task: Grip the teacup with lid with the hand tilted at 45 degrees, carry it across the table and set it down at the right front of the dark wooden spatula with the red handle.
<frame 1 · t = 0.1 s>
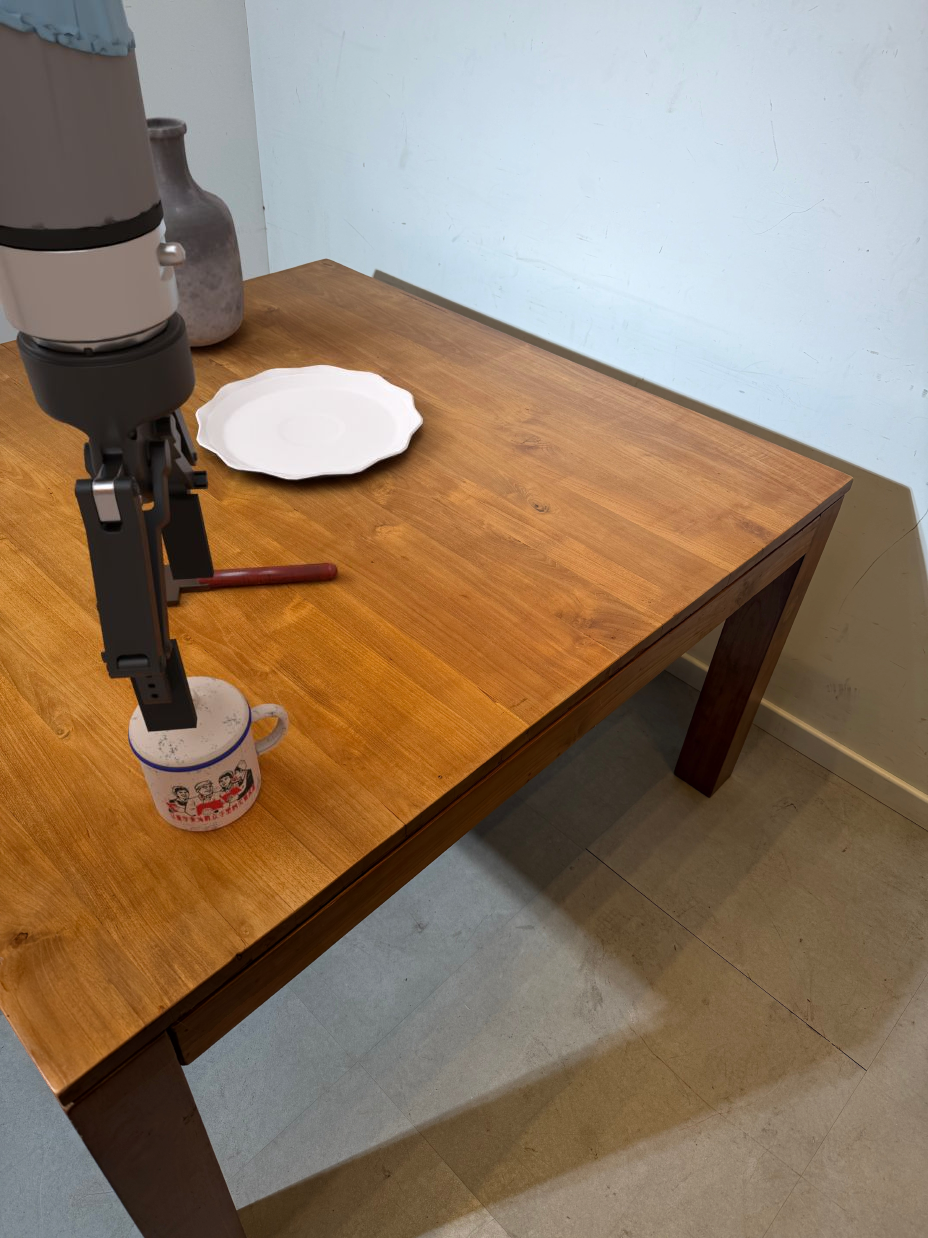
hand: (184, 643, 53), 20 cm above the table, tool pointing down, fingers open, 13 cm apart
spatula: (220, 584, 89), on the table
plate: (311, 432, 112), on the table
teacup with lid: (226, 783, 70), on the table
vase: (199, 339, 132), on the table
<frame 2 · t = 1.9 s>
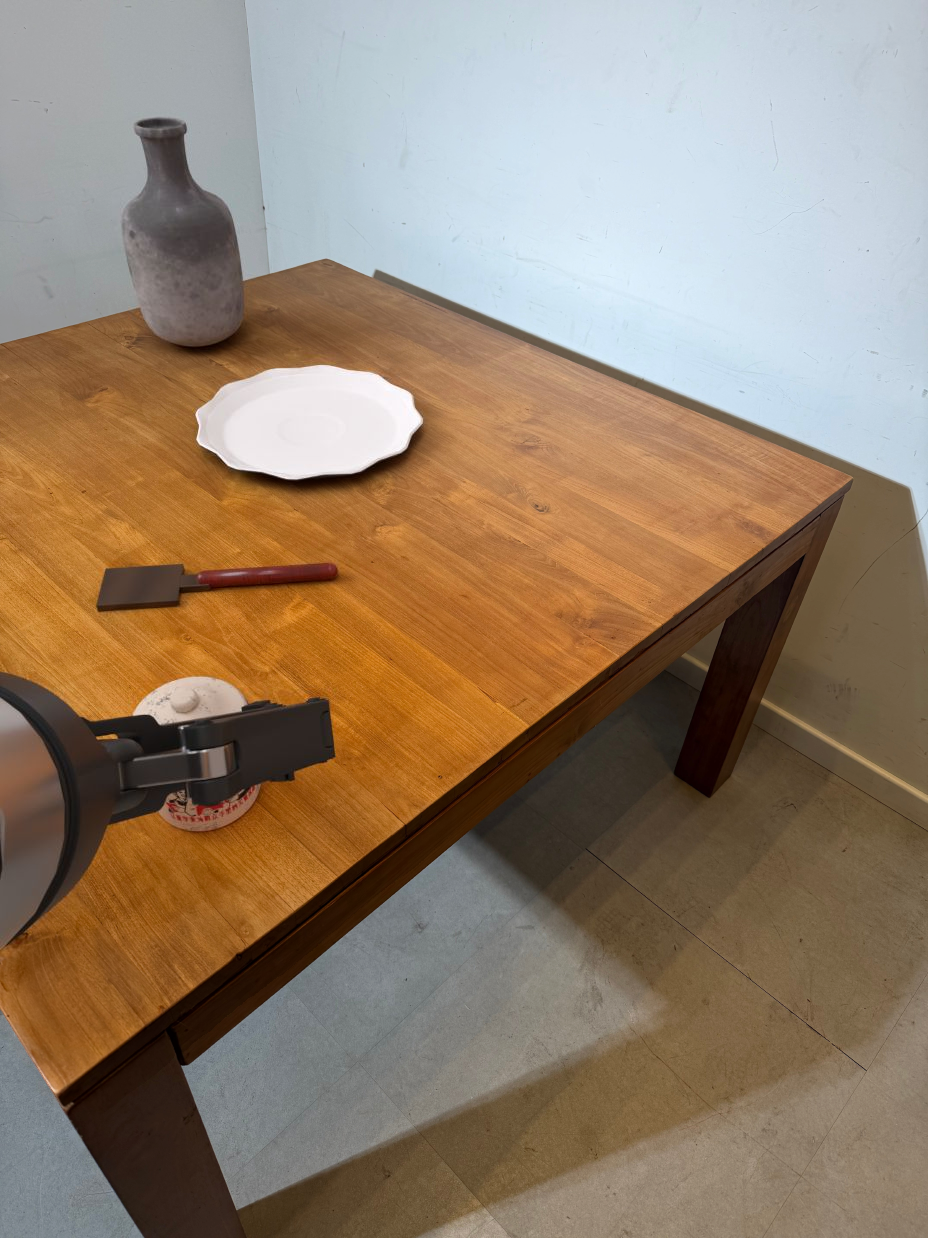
hand: (124, 746, 41), 25 cm above the table, tool tilted 45°, fingers open, 13 cm apart
nothing on the table moved.
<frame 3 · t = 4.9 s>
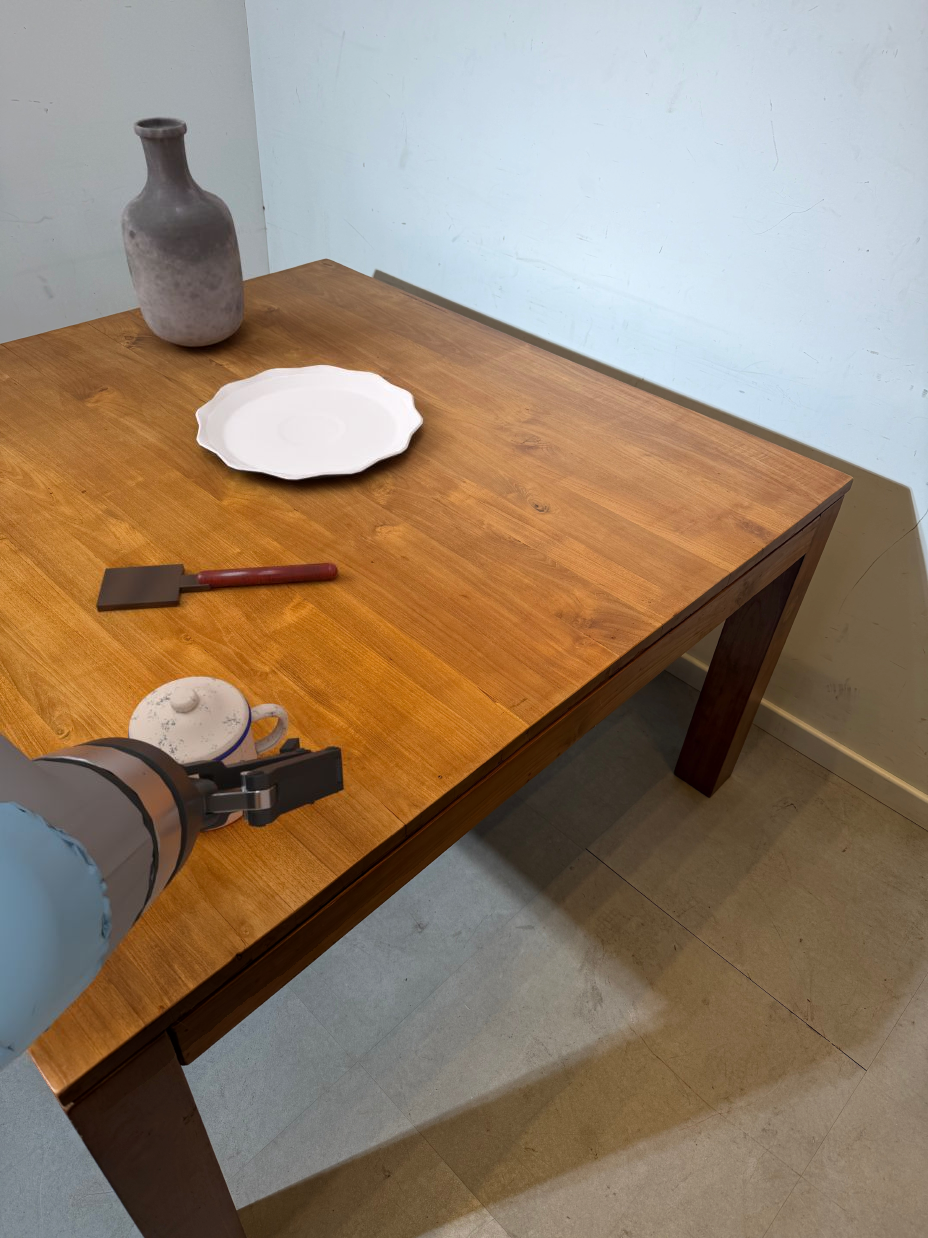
hand: (191, 767, 55), 13 cm above the table, tool tilted 45°, fingers open, 13 cm apart
nothing on the table moved.
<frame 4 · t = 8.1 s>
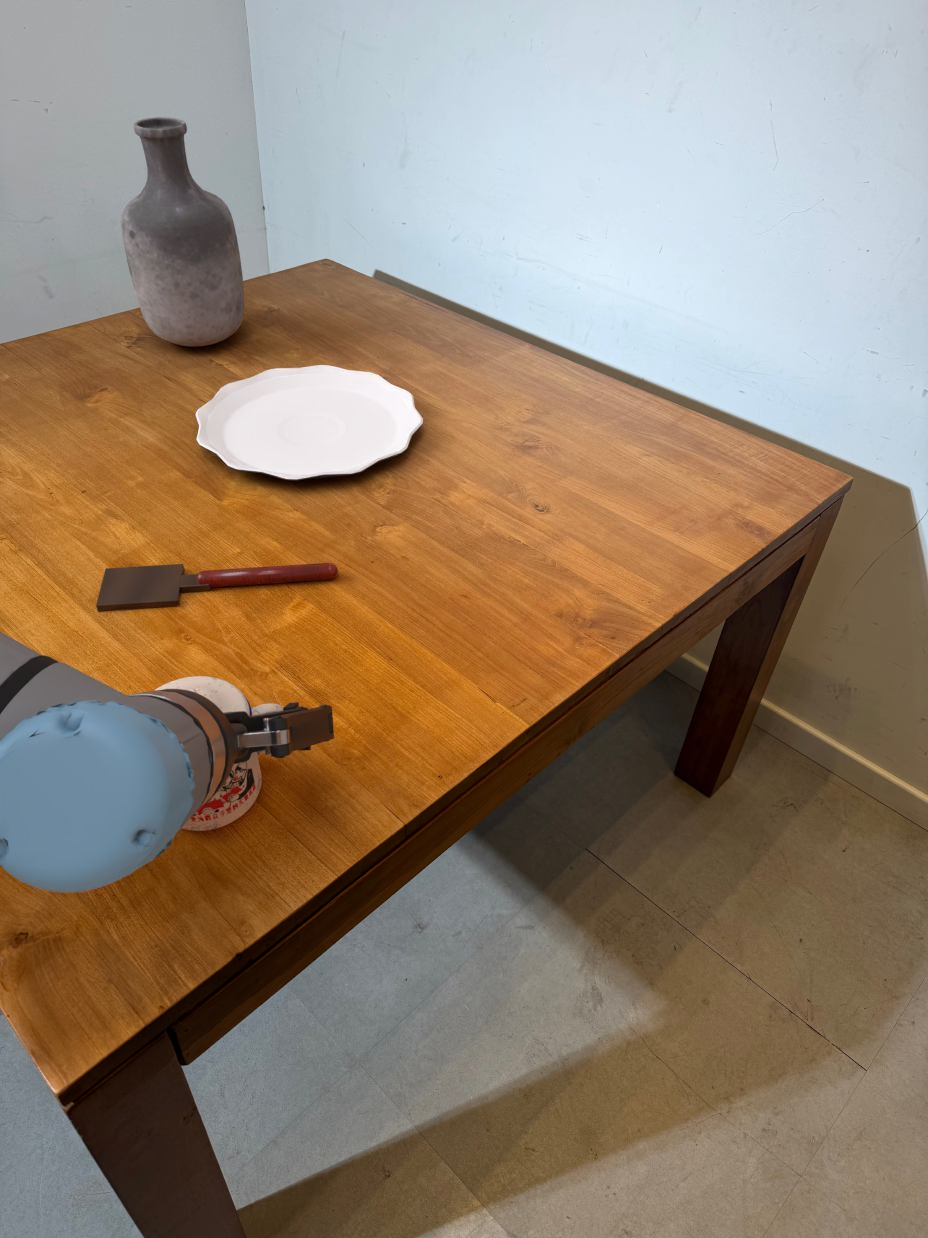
hand: (219, 725, 69), 4 cm above the table, tool tilted 45°, fingers closed on teacup with lid, 12 cm apart
teacup with lid: (227, 783, 70), on the table, touching gripper
everything else where it was.
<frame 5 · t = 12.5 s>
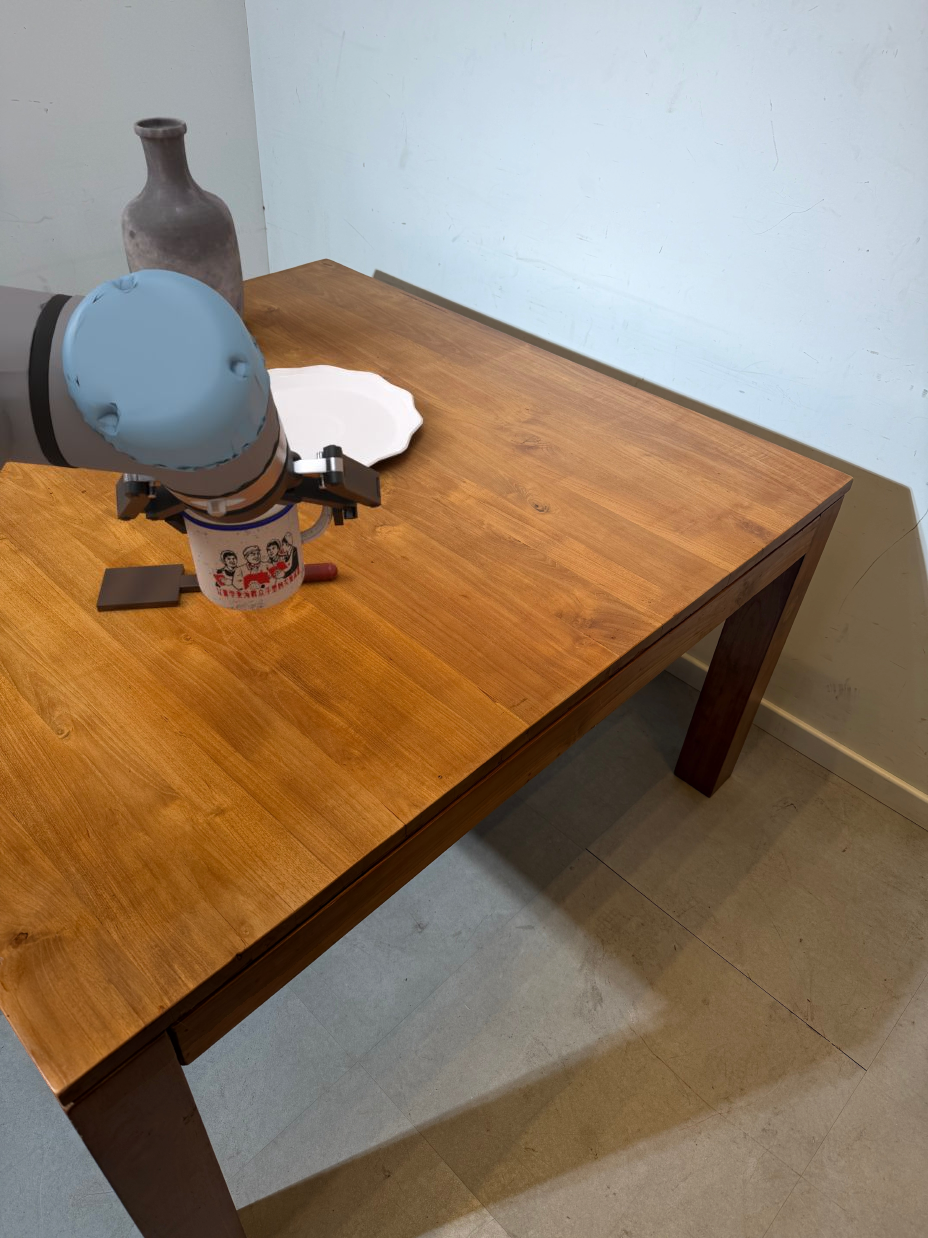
hand: (263, 513, 69), 17 cm above the table, tool tilted 45°, fingers closed on teacup with lid, 12 cm apart
teacup with lid: (269, 575, 70), point 13 cm above the table, touching gripper
everything else where it was.
when the fingers open (4 cm above the table, at t = 17.0 s): teacup with lid stays where it is, on the table.
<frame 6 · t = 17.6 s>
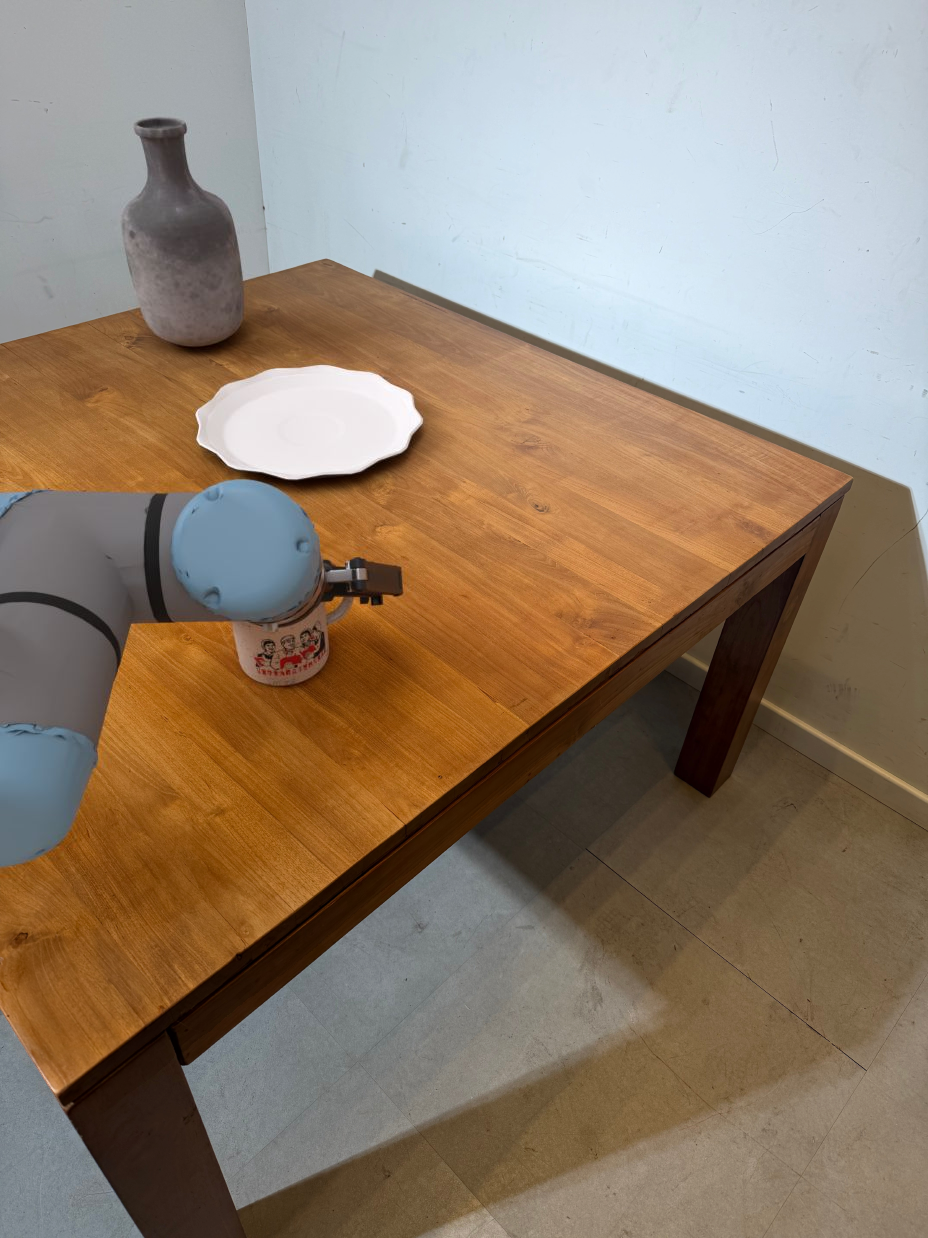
hand: (291, 594, 80), 5 cm above the table, tool tilted 45°, fingers open, 13 cm apart
teacup with lid: (299, 651, 82), on the table
everything else where it was.
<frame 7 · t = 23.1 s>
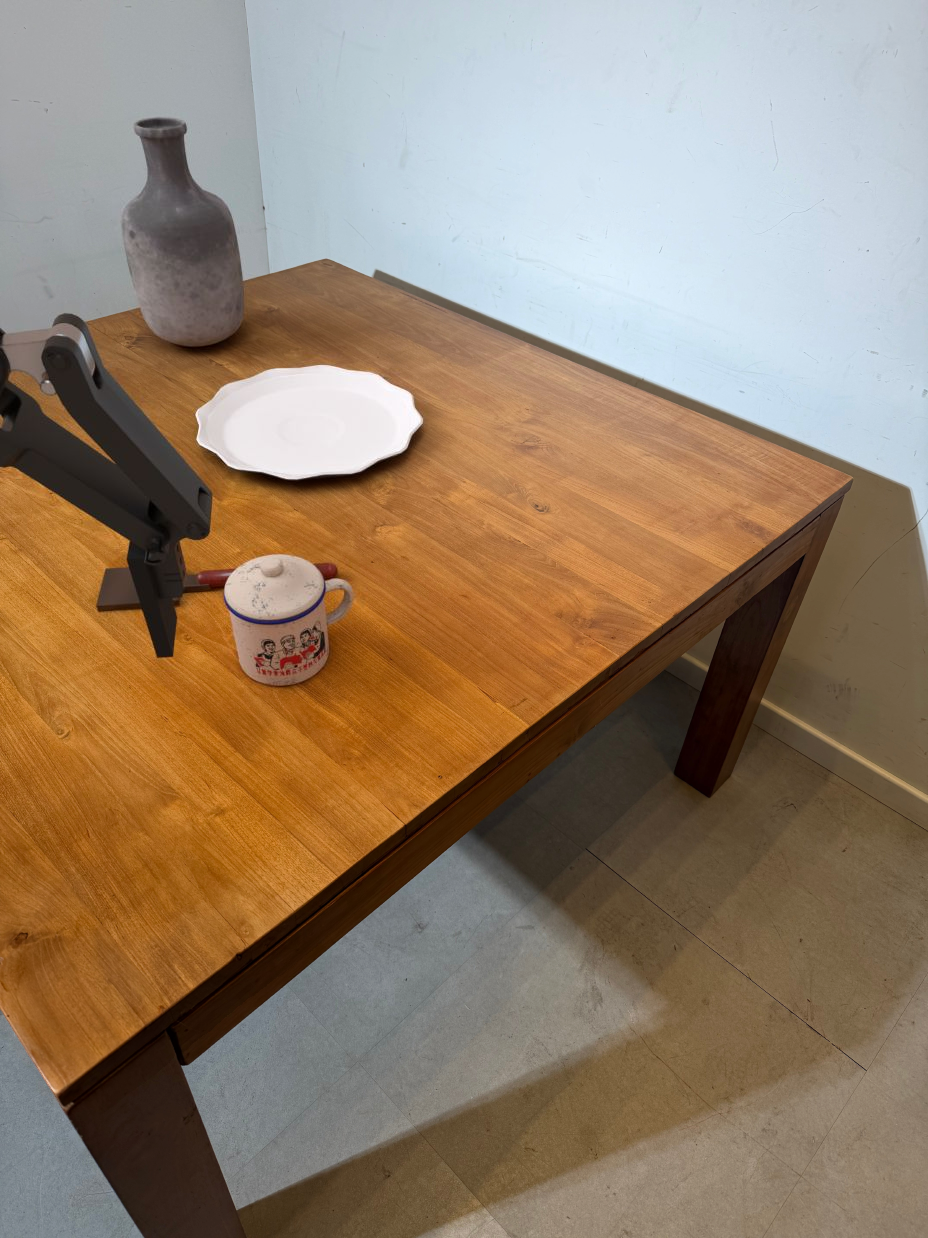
hand: (23, 648, 41), 29 cm above the table, tool pointing down, fingers open, 13 cm apart
nothing on the table moved.
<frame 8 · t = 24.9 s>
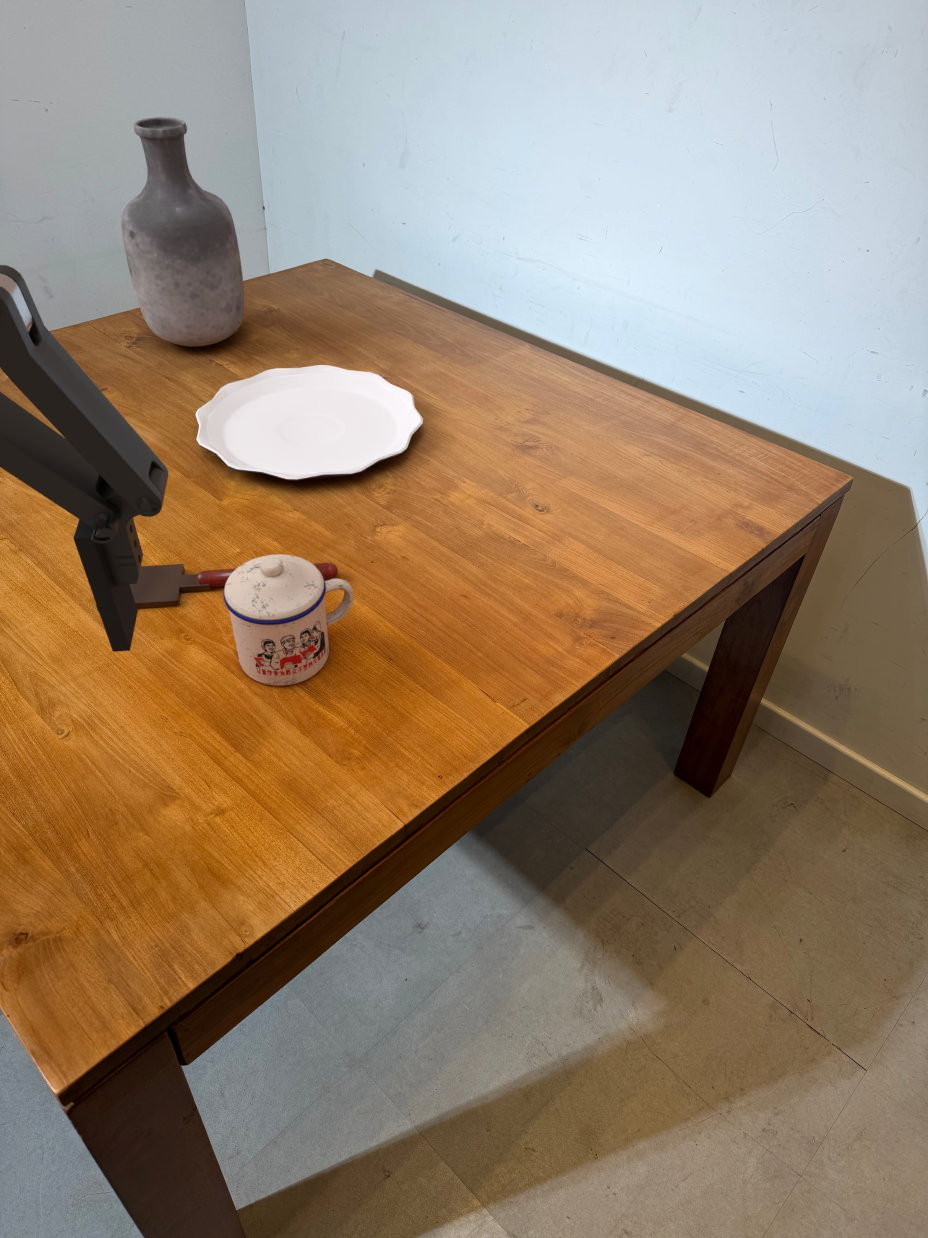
nothing on the table moved.
at the end: teacup with lid inside the target area on the table beside the spatula (0.1 cm from its centre), on the table; teacup with lid tilted 0°; the gripper is holding nothing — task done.
